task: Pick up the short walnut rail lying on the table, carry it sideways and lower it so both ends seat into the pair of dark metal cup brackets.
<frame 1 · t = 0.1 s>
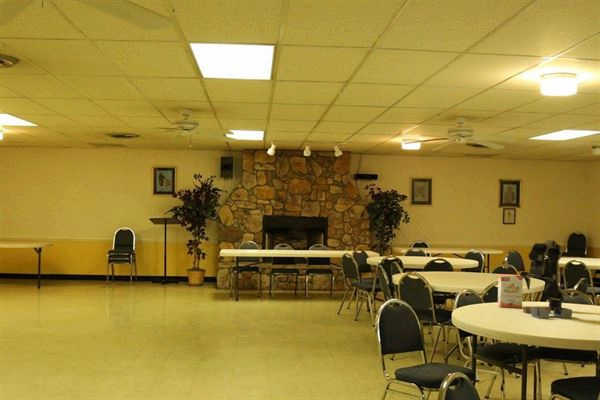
hand: (536, 290, 325), 15 cm above the table, tool pointing down, fingers open, 9 cm apart
cup brackets: (551, 317, 324), on the table
cracker box: (509, 307, 359), on the table
walnut rail: (536, 313, 339), on the table
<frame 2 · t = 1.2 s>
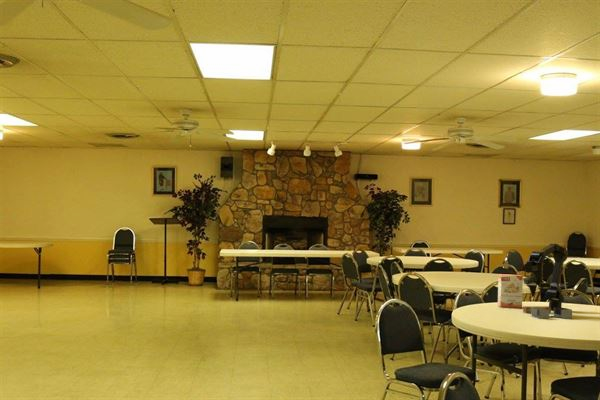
hand: (537, 297, 339), 9 cm above the table, tool pointing down, fingers open, 9 cm apart
nothing on the table moved.
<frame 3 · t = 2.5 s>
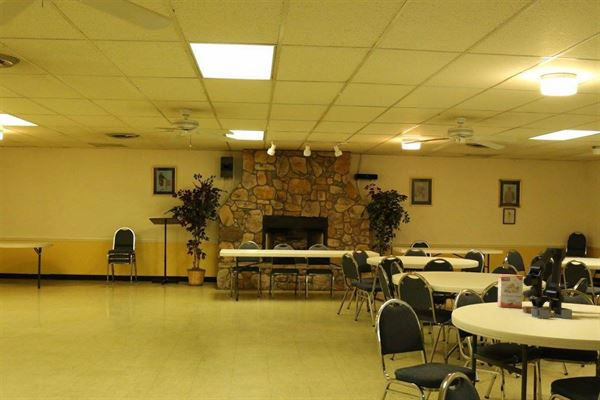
hand: (536, 311, 339), 1 cm above the table, tool pointing down, fingers closed on walnut rail, 3 cm apart
walnut rail: (536, 313, 339), on the table, touching gripper
everything else where it was.
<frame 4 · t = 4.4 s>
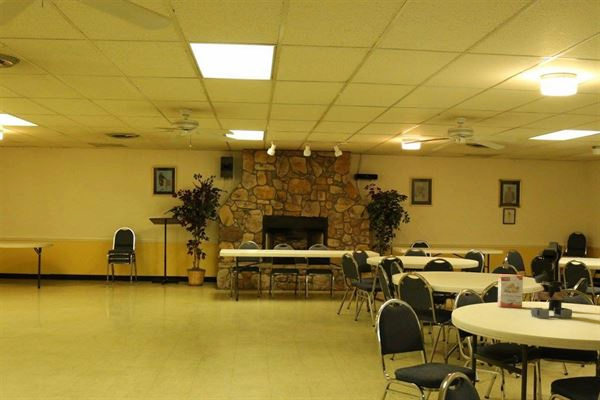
hand: (549, 297, 326), 11 cm above the table, tool pointing down, fingers closed on walnut rail, 3 cm apart
walnut rail: (548, 299, 326), point 10 cm above the table, touching gripper
everything else where it was.
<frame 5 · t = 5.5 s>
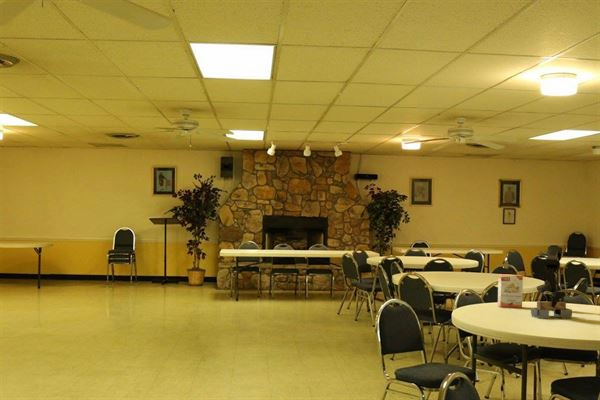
hand: (551, 306, 324), 6 cm above the table, tool pointing down, fingers closed on walnut rail, 3 cm apart
walnut rail: (551, 308, 324), point 5 cm above the table, touching gripper
everything else where it was.
when the fingers open (4 cm above the table, at t = 6.2 s): walnut rail stays where it is, resting on cup brackets.
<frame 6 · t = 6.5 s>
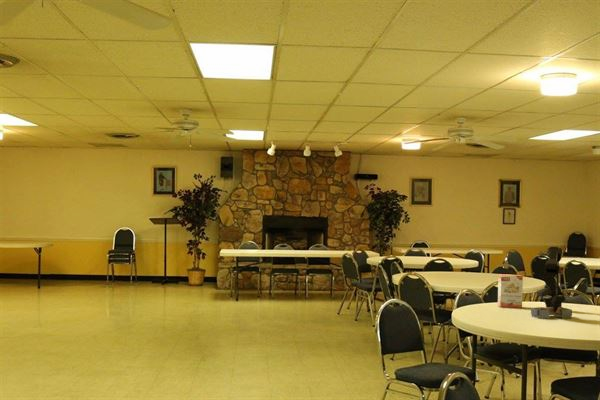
hand: (551, 311, 324), 4 cm above the table, tool pointing down, fingers open, 6 cm apart
walnut rail: (551, 314, 324), point 2 cm above the table, touching cup brackets
everything else where it was.
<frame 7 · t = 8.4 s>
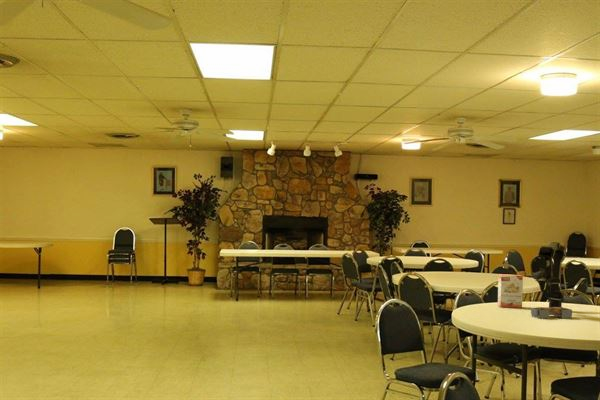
hand: (546, 293, 336), 13 cm above the table, tool pointing down, fingers open, 9 cm apart
nothing on the table moved.
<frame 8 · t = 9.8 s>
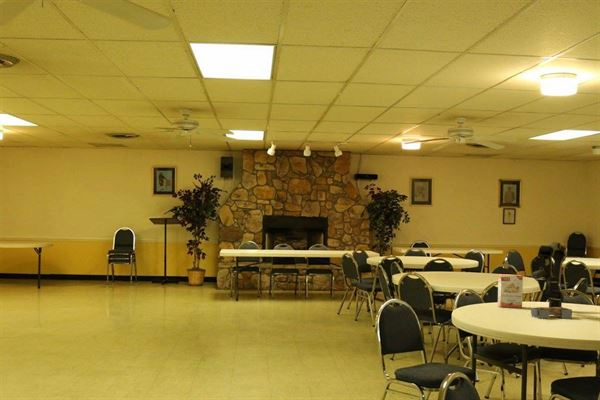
hand: (546, 292, 337), 13 cm above the table, tool pointing down, fingers open, 9 cm apart
nothing on the table moved.
at the end: walnut rail 0.1 cm off-centre on the cup brackets, point 1.6 cm above the cup brackets's base; walnut rail tilted 0°; the gripper is holding nothing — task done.
